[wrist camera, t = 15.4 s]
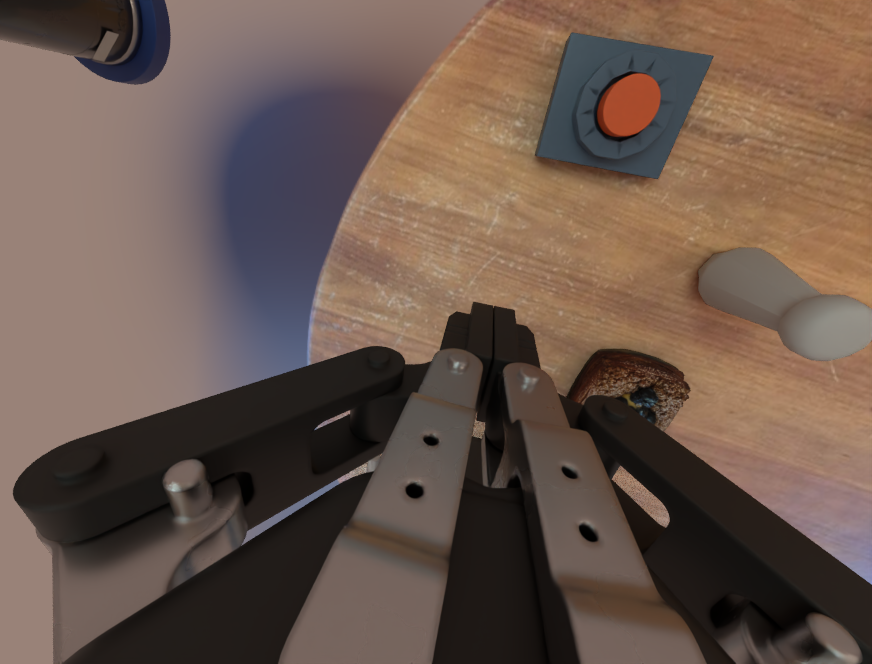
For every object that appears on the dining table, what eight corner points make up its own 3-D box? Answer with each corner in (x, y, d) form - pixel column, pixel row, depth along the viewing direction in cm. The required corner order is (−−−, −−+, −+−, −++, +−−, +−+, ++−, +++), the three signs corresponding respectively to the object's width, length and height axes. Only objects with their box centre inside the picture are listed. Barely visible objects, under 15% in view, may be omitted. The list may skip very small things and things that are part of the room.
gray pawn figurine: (733, 306, 33) (852, 387, 22) (675, 292, 33) (763, 364, 22) (774, 249, 30) (936, 308, 19) (710, 234, 31) (832, 283, 19)
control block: (534, 155, 30) (538, 156, 27) (566, 40, 26) (576, 24, 23) (647, 177, 29) (667, 181, 26) (698, 62, 25) (729, 48, 22)
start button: (589, 132, 26) (594, 131, 24) (608, 73, 24) (616, 68, 22) (637, 141, 25) (645, 140, 24) (660, 82, 24) (671, 78, 22)
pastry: (692, 363, 37) (723, 398, 32) (639, 439, 43) (658, 478, 38) (592, 339, 37) (606, 369, 32) (554, 417, 43) (561, 453, 38)
